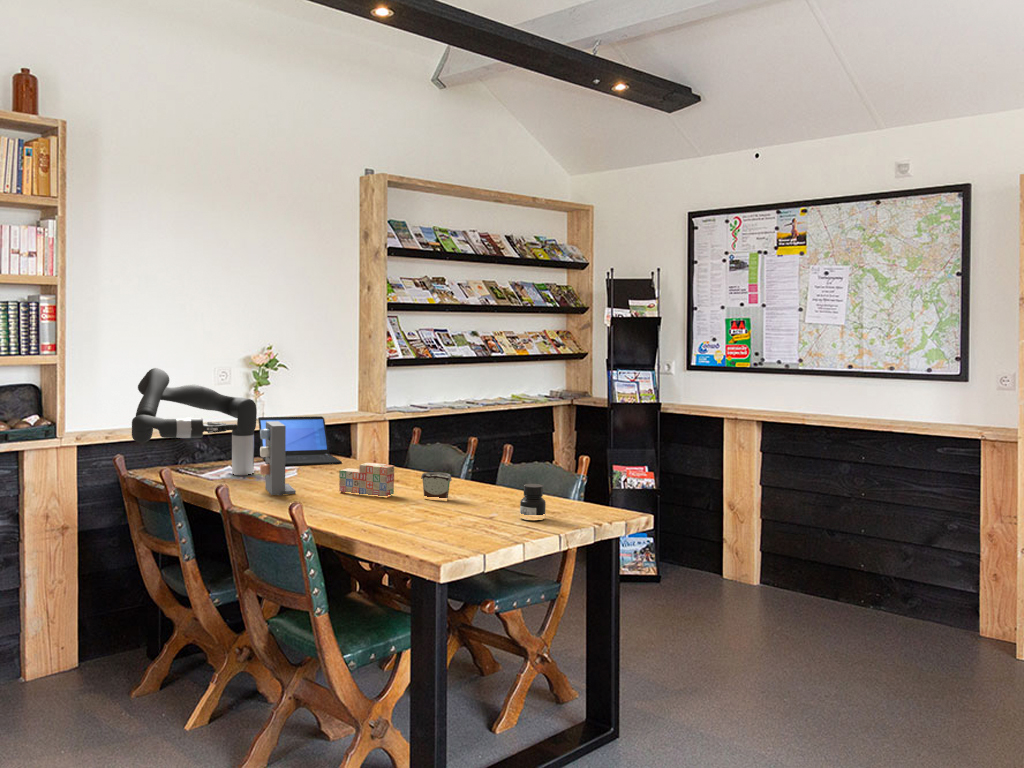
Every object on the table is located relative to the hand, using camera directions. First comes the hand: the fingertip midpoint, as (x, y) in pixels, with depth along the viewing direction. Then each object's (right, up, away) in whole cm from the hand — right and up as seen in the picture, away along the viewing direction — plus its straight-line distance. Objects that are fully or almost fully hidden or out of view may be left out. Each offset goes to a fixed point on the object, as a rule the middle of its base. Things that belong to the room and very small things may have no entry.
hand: (236, 427), depth 341 cm
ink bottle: (+113, -31, -30) cm, 121 cm away
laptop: (+3, -21, +88) cm, 91 cm away
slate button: (+10, -5, +5) cm, 12 cm away
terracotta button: (+10, -19, +6) cm, 22 cm away
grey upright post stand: (+14, -26, +9) cm, 31 cm away
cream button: (+10, -12, +5) cm, 16 cm away
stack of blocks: (+49, -27, +7) cm, 56 cm away
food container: (+78, -28, +1) cm, 83 cm away
